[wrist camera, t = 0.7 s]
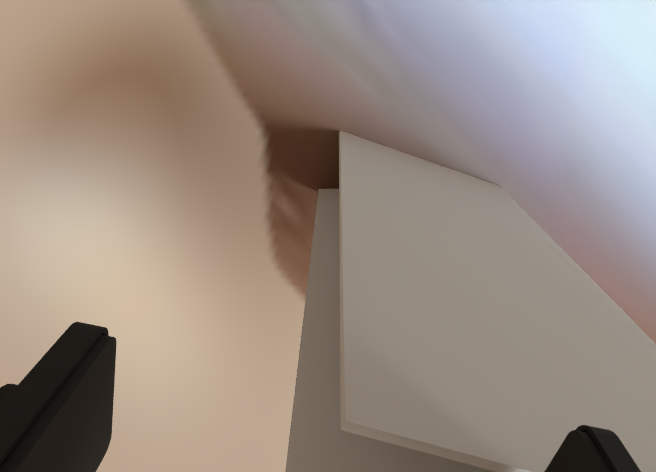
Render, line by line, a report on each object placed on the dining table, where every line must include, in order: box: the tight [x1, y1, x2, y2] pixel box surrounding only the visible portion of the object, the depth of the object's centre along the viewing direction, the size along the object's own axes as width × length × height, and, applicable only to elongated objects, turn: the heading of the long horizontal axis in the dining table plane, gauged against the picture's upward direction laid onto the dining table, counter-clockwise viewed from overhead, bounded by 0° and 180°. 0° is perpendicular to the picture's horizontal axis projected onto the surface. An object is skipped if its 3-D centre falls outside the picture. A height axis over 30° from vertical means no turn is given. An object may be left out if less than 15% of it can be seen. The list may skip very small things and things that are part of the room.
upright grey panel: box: [285, 131, 656, 472], centre depth 26 cm, size 14×6×30 cm, turn 71°
